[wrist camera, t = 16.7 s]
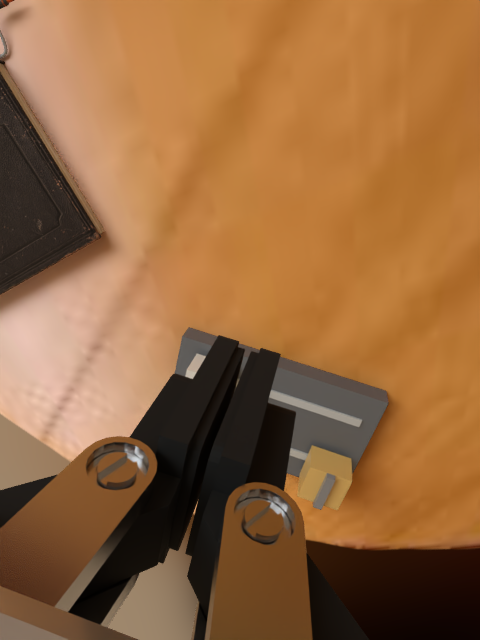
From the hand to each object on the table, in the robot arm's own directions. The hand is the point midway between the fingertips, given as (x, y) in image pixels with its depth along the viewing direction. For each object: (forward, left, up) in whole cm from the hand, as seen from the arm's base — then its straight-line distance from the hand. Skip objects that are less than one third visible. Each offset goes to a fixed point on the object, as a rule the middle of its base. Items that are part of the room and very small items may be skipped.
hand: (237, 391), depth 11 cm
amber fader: (-9, +23, -24) cm, 35 cm away
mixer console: (-2, +20, -27) cm, 33 cm away
